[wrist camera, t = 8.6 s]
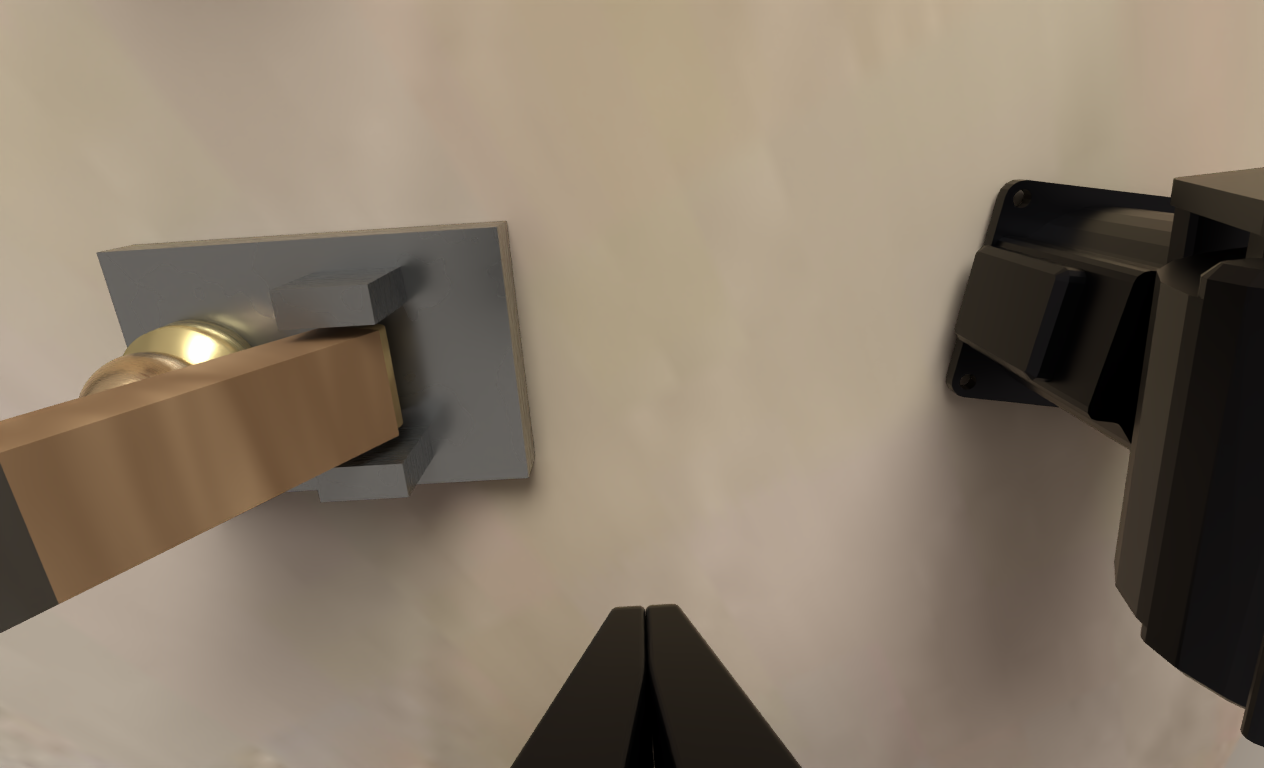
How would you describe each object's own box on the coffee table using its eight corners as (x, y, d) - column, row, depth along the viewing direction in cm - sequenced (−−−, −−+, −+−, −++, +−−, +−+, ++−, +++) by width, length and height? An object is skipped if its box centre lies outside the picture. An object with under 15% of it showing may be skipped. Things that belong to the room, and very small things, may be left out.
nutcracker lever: (402, 322, 18) (-595, 644, 7) (420, 424, 19) (-428, 845, 8) (352, 317, 19) (-595, 595, 8) (372, 415, 20) (-446, 780, 9)
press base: (506, 220, 20) (464, 247, 15) (534, 456, 22) (507, 549, 17) (134, 244, 20) (-36, 279, 15) (204, 475, 22) (80, 573, 17)
